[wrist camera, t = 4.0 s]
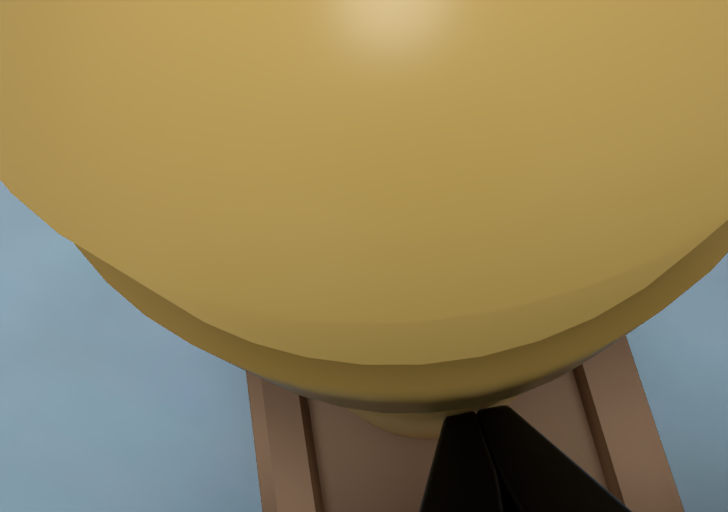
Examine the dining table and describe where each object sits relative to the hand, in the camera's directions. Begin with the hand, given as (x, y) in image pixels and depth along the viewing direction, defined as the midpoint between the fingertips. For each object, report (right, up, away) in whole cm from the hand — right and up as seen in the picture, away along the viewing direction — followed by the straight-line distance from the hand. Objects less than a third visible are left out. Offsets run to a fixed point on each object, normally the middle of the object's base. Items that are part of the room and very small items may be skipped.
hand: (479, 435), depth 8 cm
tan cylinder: (0, +1, +7) cm, 7 cm away
